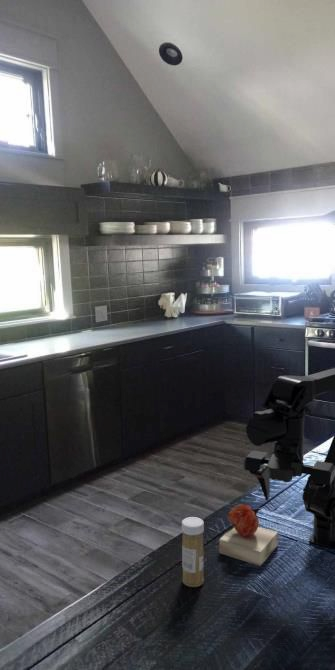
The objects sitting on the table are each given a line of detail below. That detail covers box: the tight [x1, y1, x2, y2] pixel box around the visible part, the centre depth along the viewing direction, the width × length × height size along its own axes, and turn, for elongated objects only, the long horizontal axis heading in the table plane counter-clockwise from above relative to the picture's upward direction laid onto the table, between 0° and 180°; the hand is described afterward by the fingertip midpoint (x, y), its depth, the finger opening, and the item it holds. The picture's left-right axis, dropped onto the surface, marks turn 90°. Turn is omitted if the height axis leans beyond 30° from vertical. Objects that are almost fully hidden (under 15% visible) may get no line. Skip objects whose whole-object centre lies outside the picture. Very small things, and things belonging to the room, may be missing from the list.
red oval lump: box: [224, 503, 262, 538], centre depth 130 cm, size 7×7×10 cm
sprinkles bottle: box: [181, 516, 205, 588], centre depth 117 cm, size 5×5×14 cm
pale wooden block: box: [218, 526, 279, 567], centre depth 130 cm, size 10×10×4 cm
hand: (287, 503), depth 124 cm, fingers open, 9 cm apart
